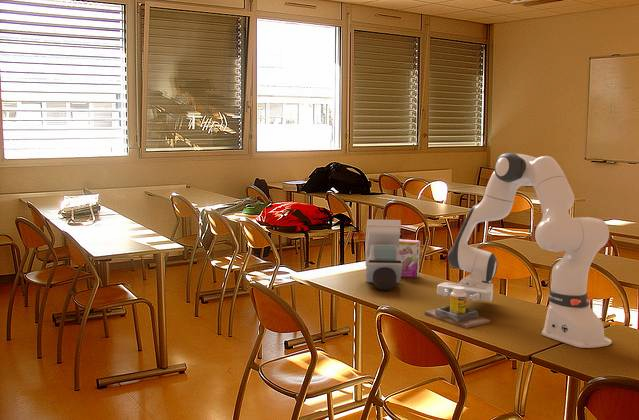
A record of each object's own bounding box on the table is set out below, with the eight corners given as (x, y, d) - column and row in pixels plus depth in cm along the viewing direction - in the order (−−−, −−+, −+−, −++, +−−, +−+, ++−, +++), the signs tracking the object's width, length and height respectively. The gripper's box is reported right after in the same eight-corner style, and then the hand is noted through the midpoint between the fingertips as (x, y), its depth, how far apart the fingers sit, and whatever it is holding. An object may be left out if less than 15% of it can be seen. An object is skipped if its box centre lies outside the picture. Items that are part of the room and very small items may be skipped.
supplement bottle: (457, 318, 239) (458, 290, 237) (446, 314, 243) (447, 286, 242) (468, 316, 242) (470, 288, 240) (457, 312, 246) (458, 284, 245)
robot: (400, 307, 287) (396, 251, 307) (404, 276, 271) (400, 220, 291) (365, 306, 287) (364, 251, 307) (368, 275, 271) (366, 219, 291)
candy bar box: (392, 276, 306) (393, 240, 304) (394, 274, 311) (395, 238, 308) (417, 278, 303) (418, 242, 301) (418, 275, 308) (420, 240, 306)
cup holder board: (489, 322, 238) (490, 314, 238) (466, 328, 231) (466, 319, 231) (447, 309, 254) (447, 301, 254) (424, 314, 247) (424, 306, 247)
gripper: (443, 276, 260) (431, 284, 248) (497, 283, 250) (487, 291, 238) (442, 292, 261) (430, 300, 249) (496, 300, 251) (486, 309, 239)
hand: (458, 296), depth 243 cm, fingers open, 8 cm apart
